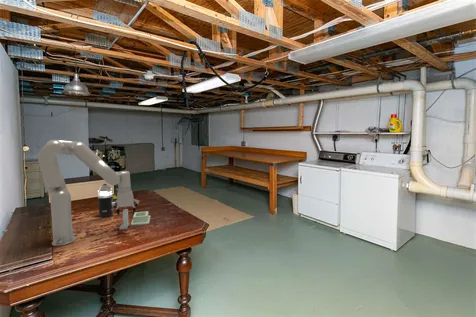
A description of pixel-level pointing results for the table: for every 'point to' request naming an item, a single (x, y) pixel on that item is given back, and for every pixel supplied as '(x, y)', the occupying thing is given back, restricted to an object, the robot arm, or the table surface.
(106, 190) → the black silver cylindrical canister
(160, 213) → the table surface
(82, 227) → the table surface
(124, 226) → the bracket
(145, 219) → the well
